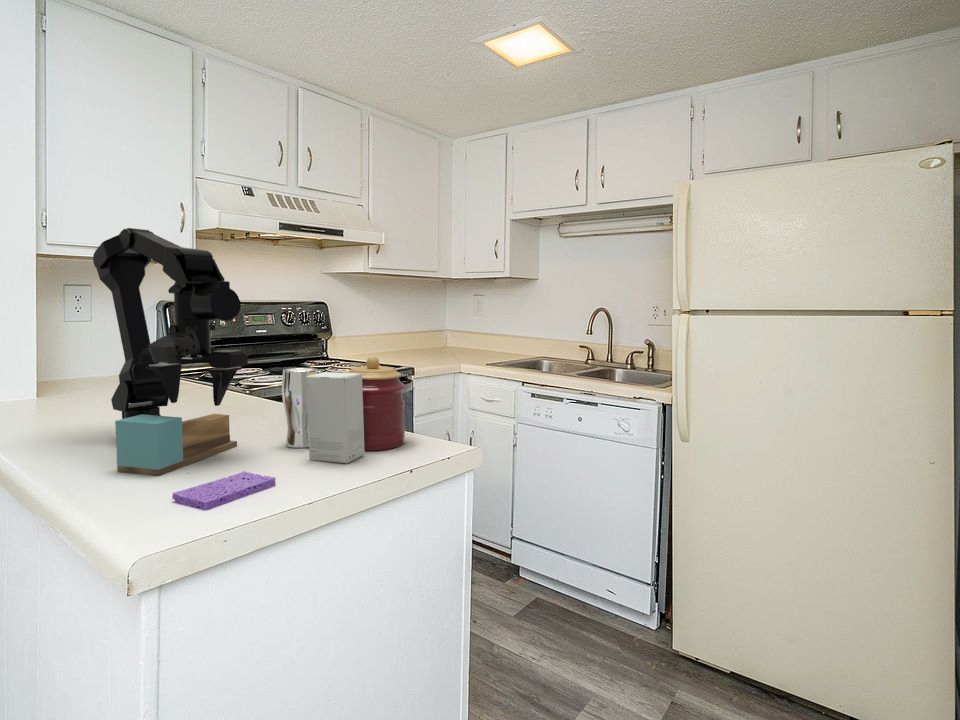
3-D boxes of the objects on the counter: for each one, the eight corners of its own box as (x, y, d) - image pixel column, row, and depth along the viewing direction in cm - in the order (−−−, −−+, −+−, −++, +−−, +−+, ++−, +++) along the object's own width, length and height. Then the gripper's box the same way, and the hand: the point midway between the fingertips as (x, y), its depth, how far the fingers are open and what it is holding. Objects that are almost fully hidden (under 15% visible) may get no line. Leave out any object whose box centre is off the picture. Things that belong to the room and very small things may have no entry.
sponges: (276, 489, 90) (276, 477, 89) (204, 514, 78) (204, 501, 78) (244, 481, 93) (244, 470, 93) (171, 505, 82) (171, 492, 81)
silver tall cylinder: (310, 449, 111) (308, 372, 109) (276, 447, 112) (274, 371, 110) (325, 441, 118) (324, 368, 116) (293, 439, 119) (292, 367, 117)
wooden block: (156, 456, 101) (155, 428, 100) (214, 438, 114) (213, 413, 113) (172, 458, 100) (171, 429, 99) (229, 440, 113) (229, 414, 112)
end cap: (117, 465, 95) (115, 420, 94) (143, 457, 100) (142, 414, 99) (158, 469, 93) (156, 424, 92) (183, 460, 98) (181, 417, 97)
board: (117, 471, 95) (116, 456, 94) (201, 443, 114) (201, 430, 114) (158, 475, 93) (158, 460, 93) (237, 446, 112) (236, 433, 112)
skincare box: (365, 456, 107) (365, 373, 106) (345, 465, 101) (345, 377, 100) (326, 451, 110) (326, 370, 108) (305, 460, 104) (304, 374, 102)
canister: (334, 438, 120) (334, 354, 118) (395, 434, 125) (396, 353, 123) (346, 454, 108) (345, 361, 106) (412, 448, 113) (413, 359, 112)
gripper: (112, 319, 99) (116, 409, 100) (206, 321, 94) (209, 415, 96) (161, 317, 109) (164, 398, 111) (248, 319, 105) (250, 404, 107)
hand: (195, 404), depth 106 cm, fingers open, 9 cm apart
